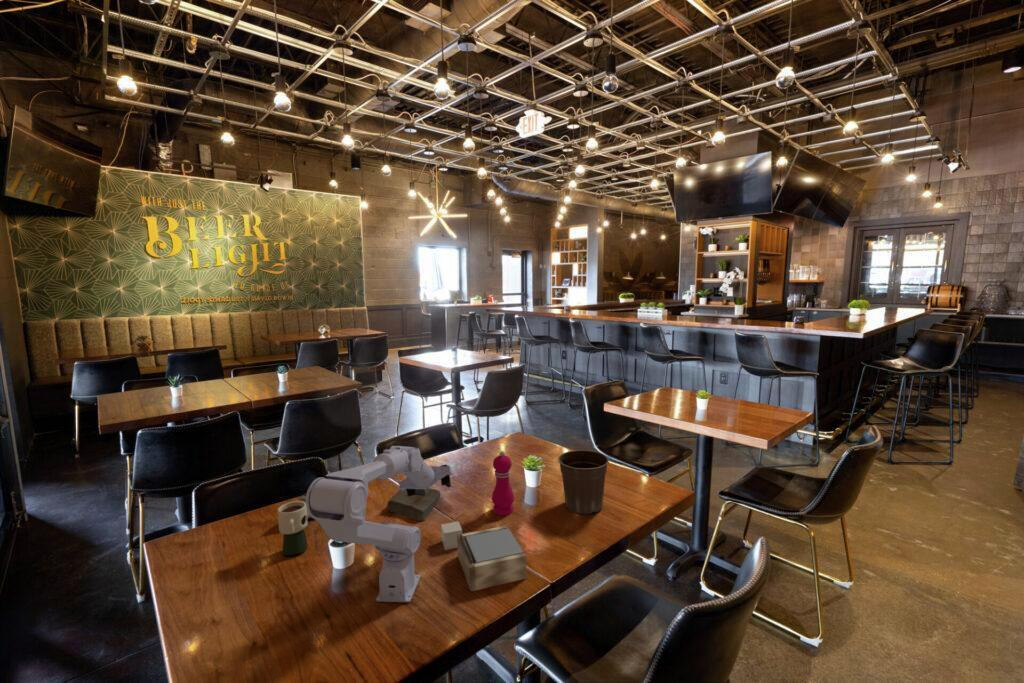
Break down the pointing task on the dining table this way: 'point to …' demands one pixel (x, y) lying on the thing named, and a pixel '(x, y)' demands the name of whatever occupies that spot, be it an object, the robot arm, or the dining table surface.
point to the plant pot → (583, 480)
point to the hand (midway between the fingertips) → (436, 488)
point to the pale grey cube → (450, 534)
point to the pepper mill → (502, 486)
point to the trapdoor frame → (489, 565)
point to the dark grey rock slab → (414, 504)
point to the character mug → (293, 527)
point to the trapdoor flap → (493, 545)
